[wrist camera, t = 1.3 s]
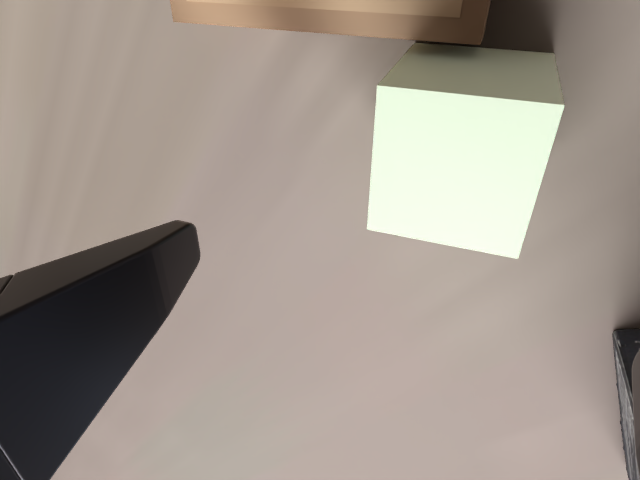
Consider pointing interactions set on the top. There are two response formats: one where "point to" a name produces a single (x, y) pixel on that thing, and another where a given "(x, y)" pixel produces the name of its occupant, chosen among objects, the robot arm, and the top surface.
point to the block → (463, 145)
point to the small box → (627, 392)
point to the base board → (347, 17)
